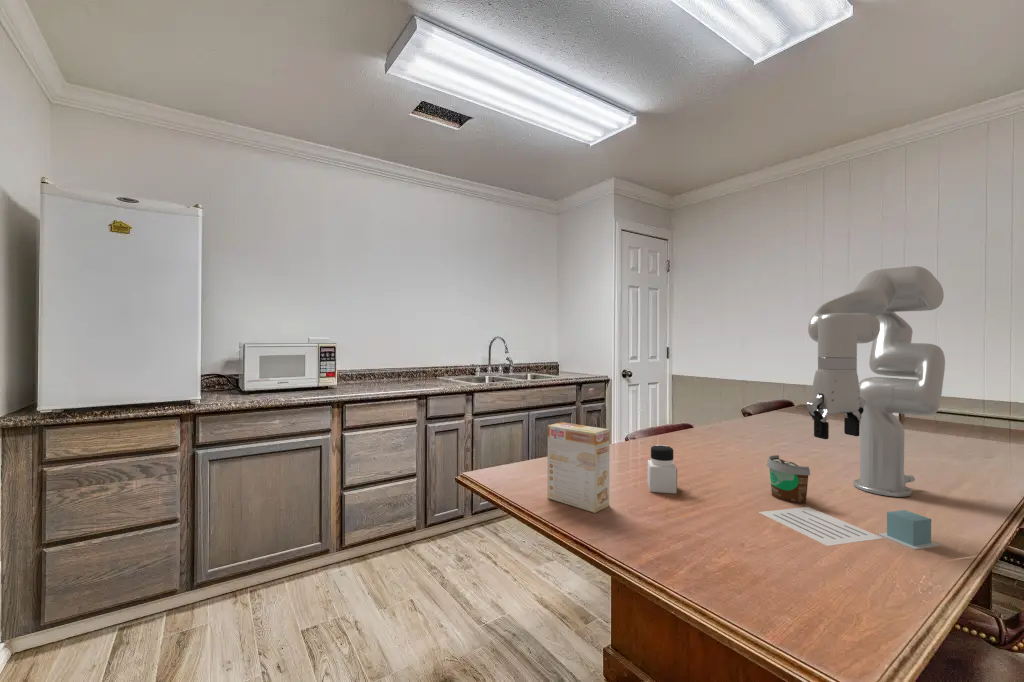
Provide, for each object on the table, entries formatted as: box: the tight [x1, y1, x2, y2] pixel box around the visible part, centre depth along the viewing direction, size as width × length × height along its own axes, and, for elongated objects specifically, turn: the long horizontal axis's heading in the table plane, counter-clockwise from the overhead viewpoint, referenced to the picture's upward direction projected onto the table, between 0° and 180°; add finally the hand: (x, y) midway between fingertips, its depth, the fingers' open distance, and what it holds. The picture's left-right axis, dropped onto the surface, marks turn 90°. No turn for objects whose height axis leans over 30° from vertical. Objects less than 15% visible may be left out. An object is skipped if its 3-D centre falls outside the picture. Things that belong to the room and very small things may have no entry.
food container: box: [766, 454, 811, 505], centre depth 119 cm, size 12×6×10 cm, turn 5°
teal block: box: [886, 509, 932, 546], centre depth 94 cm, size 5×5×5 cm
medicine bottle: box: [647, 444, 678, 495], centre depth 126 cm, size 7×7×12 cm
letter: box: [758, 506, 883, 547], centre depth 102 cm, size 15×18×1 cm
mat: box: [877, 532, 941, 551], centre depth 94 cm, size 7×7×1 cm
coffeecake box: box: [546, 422, 611, 514], centre depth 115 cm, size 15×7×20 cm, turn 47°
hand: (836, 436), depth 107 cm, fingers open, 9 cm apart
